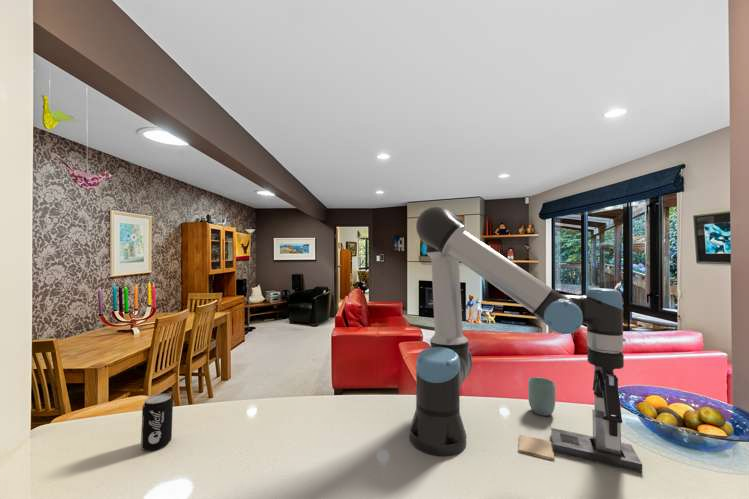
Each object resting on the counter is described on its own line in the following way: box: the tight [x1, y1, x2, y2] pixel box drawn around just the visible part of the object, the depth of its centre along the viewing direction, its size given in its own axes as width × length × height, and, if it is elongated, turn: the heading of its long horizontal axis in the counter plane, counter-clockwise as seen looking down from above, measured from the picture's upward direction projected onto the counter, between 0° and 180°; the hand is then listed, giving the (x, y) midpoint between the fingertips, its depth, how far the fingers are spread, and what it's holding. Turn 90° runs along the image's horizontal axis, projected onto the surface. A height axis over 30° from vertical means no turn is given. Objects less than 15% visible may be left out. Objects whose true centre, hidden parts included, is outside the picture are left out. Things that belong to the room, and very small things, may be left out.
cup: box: [527, 376, 556, 416], centre depth 103 cm, size 8×8×10 cm
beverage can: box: [140, 393, 174, 452], centre depth 83 cm, size 7×7×12 cm
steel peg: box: [591, 408, 622, 457], centre depth 81 cm, size 5×5×10 cm
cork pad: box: [518, 434, 555, 462], centre depth 83 cm, size 8×8×1 cm
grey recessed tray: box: [550, 427, 643, 474], centre depth 82 cm, size 18×9×2 cm, turn 64°
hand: (606, 434), depth 81 cm, fingers open, 13 cm apart
